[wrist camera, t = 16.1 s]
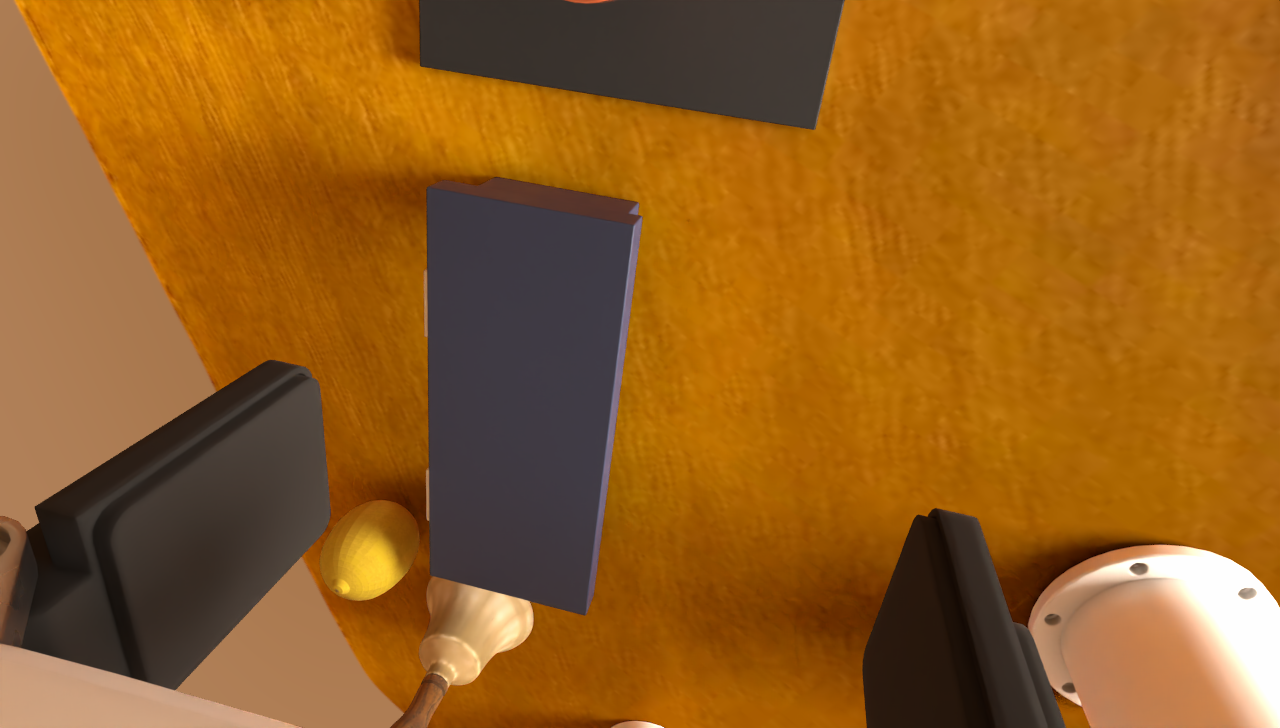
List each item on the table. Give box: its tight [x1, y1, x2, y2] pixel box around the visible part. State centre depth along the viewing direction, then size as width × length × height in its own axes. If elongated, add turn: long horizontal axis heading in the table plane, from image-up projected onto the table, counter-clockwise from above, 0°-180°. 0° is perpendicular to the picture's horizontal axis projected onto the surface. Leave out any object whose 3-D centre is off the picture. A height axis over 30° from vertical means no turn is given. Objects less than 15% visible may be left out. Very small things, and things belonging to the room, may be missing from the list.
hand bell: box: [390, 576, 534, 728], centre depth 46 cm, size 8×8×16 cm
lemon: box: [320, 500, 420, 601], centre depth 47 cm, size 6×6×8 cm
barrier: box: [424, 177, 642, 615], centre depth 41 cm, size 10×24×6 cm, turn 173°
